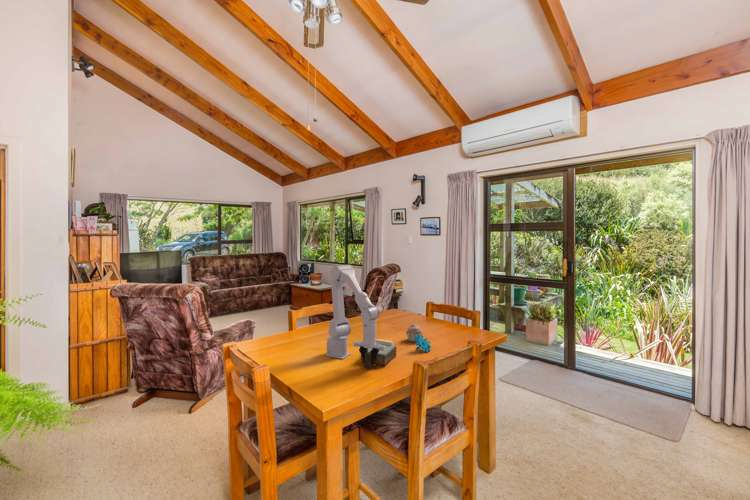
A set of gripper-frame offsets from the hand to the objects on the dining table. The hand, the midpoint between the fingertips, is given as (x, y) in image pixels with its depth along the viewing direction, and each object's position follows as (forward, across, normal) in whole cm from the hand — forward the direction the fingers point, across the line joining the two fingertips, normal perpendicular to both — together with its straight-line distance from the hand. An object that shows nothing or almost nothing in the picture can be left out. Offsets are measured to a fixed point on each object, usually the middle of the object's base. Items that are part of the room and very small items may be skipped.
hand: (369, 364), depth 156 cm
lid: (-3, 0, +11) cm, 12 cm away
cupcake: (+2, +7, +46) cm, 46 cm away
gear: (+2, +16, +33) cm, 36 cm away
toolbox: (+2, 0, +12) cm, 12 cm away
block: (+2, 0, 0) cm, 2 cm away
